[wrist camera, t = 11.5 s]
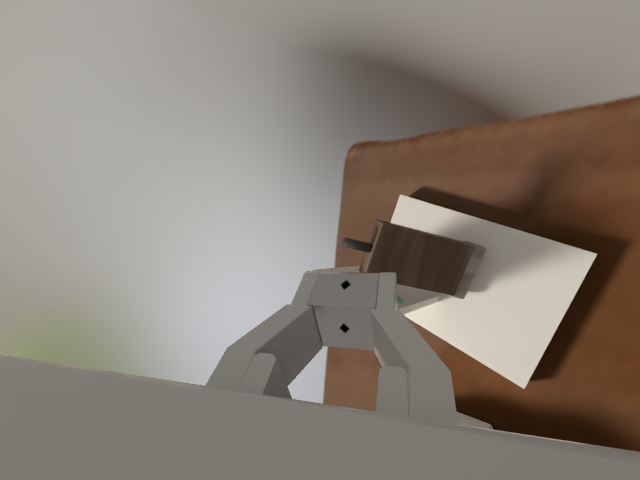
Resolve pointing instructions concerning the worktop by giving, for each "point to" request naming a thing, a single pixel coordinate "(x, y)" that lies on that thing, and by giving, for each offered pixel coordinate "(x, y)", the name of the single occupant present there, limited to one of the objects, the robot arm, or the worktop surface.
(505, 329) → the stand
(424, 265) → the lever
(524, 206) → the worktop surface
